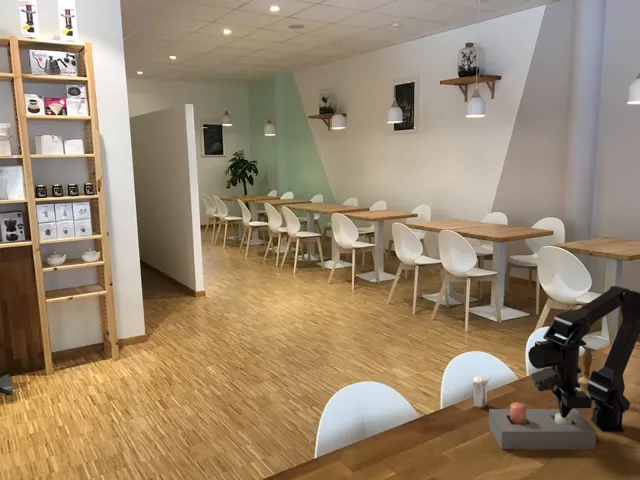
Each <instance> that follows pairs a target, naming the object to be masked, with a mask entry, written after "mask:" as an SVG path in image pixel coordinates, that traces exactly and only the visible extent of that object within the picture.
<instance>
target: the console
mask: <svg viewBox="0 0 640 480" xmlns="http://www.w3.org/2000/svg"><path fill="white" fill-rule="evenodd" d="M558 413H560V411H559V408H526V425H511V423H510V408H489V410H488V427H489V429H490V430H491V432H492V435H493V436H494V438H495V440H496V442H497V445H498V446H499V447H500V450H596V441H597V430H596V429H595V428H594V427H593V426H592V425H591V424H590V422H588V420H586V418H585V417H584V416H583V415H582V414H581V413H580V412H579V411H578V410H577V408H572V410H571V411H570V412H569V414H568V415H569V416H570V417H571V425H557V423H556V422H555V415H556V414H558Z"/></svg>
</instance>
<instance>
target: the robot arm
mask: <svg viewBox="0 0 640 480" xmlns="http://www.w3.org/2000/svg"><path fill="white" fill-rule="evenodd" d="M619 307H620V312H621V317H622V319H621V320H622V321H621V323H620V325H619V328H618V330H617V332H616V336H615V338H614V340H613V343H612V345H611V347H610V350H609V351H608V355H607V357H606V360H605V362H604V365H603V367H601V368H600V369H599V370H597V371H596V370H592V371H591V372H590V379H589V381H588V382H587V383H588V386H587V390H588V392H589V395H590V397H589V396H588V395H587V394H586V393H584V392H583V391H579V390H578V389H576V388H580V383H579V382H578V380H579V376H578V375H579V374H581V373H582V369H581V368H580V363H579V361H580V349H581V348H580V347H584V346H587V342H586V341H585V340H583V338H584V337H585V336H586V335H588V333H590V331H591V327H592V325H593V324H594V323H597V322H598V321H599V320H601V319H603V318H604V317H605V316H607V315H609V314H610V313H612V312H614V311H615V310H616V309H618V308H619ZM639 336H640V291H638V290H633V289H632V290H630V289H629V288H626V287H622V286H618V285H611V286H610V287H609V288H608V290H606V291H605V292H604V293H602V294H600V295H599V296H597V297H596V298H594V299H592V300H591V301H589V302H588V303H586V304H584V305H582V307H580V308H578V309H571V310H566V311H563V312H561V313H559V314H557V315H556V316H554V318H553V320H552V322H551V323H550V325H549V327H548V329H547V330H546V332H545V334H544V335H543V337H542V339H544V340H543V341H541V340H540V341H538V340H537V341H535V342H534V346H532V347H530V349H529V351H528V360H529V362H530V364H531V365H532V367H533V368H535V369H538V370H539V369H542V370H539V371H535V372H533V373H531V375H530V377H531V380H532V382H533V386H534V387H535V388H536V389H537V391H538V392H546V391H551V392H552V394H554V396H555V398H556V402H557V406H558V409H559V411H560V415H561V417H562V418H566V417H567V415H568V414H569V412H570V411H571V410H572V409H592V417H591V418H590V420H591V422H592V423H594V424H595V426H596V428H598V429H599V430H600V431H602V432H624V431H625V430H626V429H625V427H624V426H623V414H626V411H628V410H629V408H630V405H631V401H629V399H628V398H627V397H626V396H625V395H624V392H625V389H626V387H625V380H624V373H625V370H626V368H627V366H628V363H629V361H630V358H631V355H632V353H633V352H634V348H635V345H636V344H637V341H638V338H639ZM562 337H563V338H562ZM592 401H595V402H594V407H593V402H592Z"/></svg>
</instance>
